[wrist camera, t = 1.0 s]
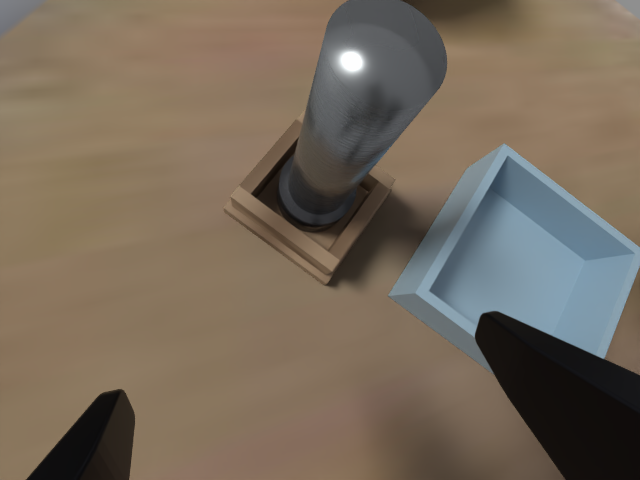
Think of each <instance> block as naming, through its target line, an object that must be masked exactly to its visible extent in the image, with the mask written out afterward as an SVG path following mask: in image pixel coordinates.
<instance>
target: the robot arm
mask: <svg viewBox="0 0 640 480" xmlns="http://www.w3.org/2000/svg"><path fill="white" fill-rule="evenodd" d="M475 341H476V343H477V345H478V347H479V349H480V350H481V352H482V354H483V356H484V357H485V359H486V361H487V363H488V364H489V366H490V368H491V370H492V371H493V373H494V375H495V377H496V378H497V380H498V382H499V384H500V385H501V387H502V389H503V390H504V392H505V393H506V395H507V397H508V398H509V400H510V401H511V403H512V404H513V405H514V407H515V408H516V410H517V411H518V413H519V414H520V415H521V417H522V418H523V420H524V421H525V423H526V424H527V425H528V427H529V428H530V430H531V431H532V432H533V434H534V435H535V437H536V438H537V440H538V441H539V442H540V444H541V445H542V447H543V448H544V450H545V451H546V452H547V454H548V455H549V457H550V458H551V460H552V461H553V462H554V464H555V465H556V467H557V468H558V470H559V471H560V472H561V474H562V475H563V477H564V478H565V480H640V375H638V374H636V373H634V372H632V371H629V370H627V369H625V368H623V367H621V366H618V365H616V364H614V363H612V362H609V361H607V360H605V359H603V358H601V357H598V356H596V355H594V354H592V353H590V352H587V351H585V350H583V349H581V348H578V347H576V346H574V345H572V344H570V343H567V342H565V341H563V340H561V339H559V338H556V337H554V336H552V335H550V334H547V333H545V332H543V331H541V330H539V329H536V328H534V327H532V326H530V325H528V324H525V323H523V322H521V321H519V320H516V319H514V318H512V317H510V316H508V315H505V314H503V313H501V312H499V311H490V312H485V313H482V314H481V316H480V318H479V321H478V325H477V328H476V332H475ZM134 427H135V414H134V411H133V408H132V406H131V404H130V402H129V400H128V397H127V395H126V393H125V392H124V390H122V389H117V390H113V391H108V392H104V393H102V394H100V395H99V396H98V397H97V398H96V399H95V400H94V401H93V403H92V404H91V405H90V406H89V407H88V408H87V410H86V411H85V412H84V413H83V414H82V415H81V417H80V418H79V419H78V420H77V421H76V422H75V423H74V425H73V426H72V427H71V428H70V429H69V430H68V432H67V433H66V434H65V435H64V436H63V437H62V439H61V440H60V441H59V442H58V443H57V444H56V446H55V447H54V448H53V449H52V450H51V451H50V452H49V454H48V455H47V456H46V457H45V458H44V459H43V461H42V462H41V463H40V464H39V465H38V466H37V468H36V469H35V470H34V471H33V472H32V473H31V474H30V476H29V477H28V478H27V479H26V480H129V476H130V467H131V457H132V447H133V437H134Z"/></svg>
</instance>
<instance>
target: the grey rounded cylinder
mask: <svg viewBox="0 0 640 480" xmlns="http://www.w3.org/2000/svg"><path fill="white" fill-rule="evenodd" d="M446 70H447V55H446V50H445V47H444V44H443V41H442V39H441V37H440V35H439V33H438V31H437V30H436V28H435V27H434V26H433V24H432V23H431V22H430V21H429V20H428V19H427V18H426V16H424V15H423V14H422V13H421V12H420V11H418V10H417V9H416V8H414V7H413V6H411V5H409V4H407V3H406V2H403V1H401V0H349V1H347V2H345V3H344V4H342V5H341V6H340V7H339V8H338V9H337V10H336V11H335V12H334V13H333V15H332V16H331V18H330V20H329V22H328V25H327V28H326V32H325V36H324V40H323V44H322V48H321V52H320V56H319V60H318V64H317V67H316V71H315V75H314V79H313V83H312V87H311V91H310V95H309V99H308V103H307V107H306V111H305V115H304V119H303V123H302V127H301V131H300V135H299V139H298V143H297V147H296V151H295V154H294V156H292V157H291V158H290V159H289V160H288V161H287V162H286V164H285V165H284V167H283V169H282V171H281V174H280V179H279V185H278V190H277V204H278V208H279V210H280V212H281V214H282V216H283V217H284V219H285V220H286V221H287V222H289V223H290V224H291V225H293V226H294V227H295V228H297V229H299V230H302V231H305V232H321V231H325V230H327V229H329V228H331V227H333V226H334V225H335V224H336V223H337V222H338V221H339V220H340V219H341V218H342V217H343V216H344V215H345V214H346V213H347V212H348V211H349V209H350V208H351V206H352V205H353V203H354V200H355V197H356V188H357V186H358V185H359V184H360V183H361V182H362V180H363V179H364V178H365V177H366V176H367V174H368V173H369V172H370V171H371V170H372V168H373V167H374V166H375V165H376V164H377V162H378V161H379V160H380V159H381V158H382V156H383V155H384V154H385V153H386V152H387V150H388V149H389V148H390V147H391V146H392V144H393V143H394V142H395V141H396V140H397V138H398V137H399V136H400V135H401V134H402V132H403V131H404V130H405V129H406V128H407V126H408V125H409V124H410V123H411V122H412V120H413V119H414V118H415V117H416V116H417V114H418V113H419V112H420V111H421V110H422V108H423V107H424V106H425V105H426V104H427V102H428V101H429V100H430V99H431V98H432V96H433V95H434V94H435V93H436V92H437V90H438V89H439V88H440V86H441V84H442V83H443V80H444V78H445V74H446Z"/></svg>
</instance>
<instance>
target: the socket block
mask: <svg viewBox="0 0 640 480" xmlns="http://www.w3.org/2000/svg"><path fill="white" fill-rule="evenodd" d="M304 115H305V111H303V112H302V113H301V114H300V115H299V117H298V118H297V119H296V120H295V121H294V122H293V124H292V125H291V126H290V127H289V128H288V129H287V131H286V132H285V133H284V134H283V135H282V136H281V138H280V139H279V140H278V141H277V142H276V143H275V145H274V146H273V147H272V148H271V149H270V150H269V151H268V153H267V154H266V155H265V156H264V157H263V158H262V160H261V161H260V162H259V163H258V164H257V165H256V167H255V168H254V169H253V170H252V171H251V172H250V174H249V175H248V176H247V177H246V178H245V179H244V181H243V182H242V183H241V184H240V185H239V186H238V187H237V189H236V190H235V191H234V192H233V193H232V194H231V196H230V198H231V199H230V200H229V201H228V202H227V204H226V205H225V206H224V207H223V209H224V212H225V213H226V214H228V215H229V216H230V217H232V218H233V219H235V220H236V221H237V222H239V223H240V224H241V225H243V226H244V227H245V228H247V229H248V230H249V231H251V232H252V233H254V234H255V235H256V236H258V237H259V238H260V239H262V240H263V241H264V242H266V243H267V244H268V245H270V246H271V247H273V248H274V249H275V250H277V251H278V252H279V253H281V254H282V255H283V256H285V257H286V258H287V259H289V260H290V261H292V262H293V263H294V264H296V265H297V266H298V267H300V268H301V269H302V270H304V271H305V272H307V273H308V274H309V275H311V276H312V277H313V278H315V279H316V280H317V281H319V282H320V283H321V284H323V285H325V284H327V283H328V282H329V280H330V279H331V277H332V276H333V274H334V273H335V271H336V270H337V268H338V267H339V266H340V264H341V263H342V261H343V260H344V258H345V257H346V255H347V254H348V252H349V251H350V250H351V248H352V247H353V245H354V244H355V242H356V241H357V239H358V238H359V236H360V235H361V234H362V232H363V231H364V229H365V228H366V226H367V225H368V223H369V222H370V221H371V219H372V218H373V216H374V215H375V213H376V212H377V210H378V209H379V207H380V206H381V205H382V203H383V202H384V200H385V199H386V197H387V196H388V194H389V193H390V191H391V189H390V187H391V186H392V185H393V183H394V182H395V180H396V179H394V178H393V177H392V176H390V175H389V174H388V173H386V172H385V171H384V170H382V169H381V168H380V167H378V166H377V165H375V166H374V167H373V168H372V170H371V171H370V172H369V173H368V174H367V176H366V177H365V178H364V179H363V180H362V182H361V183H360V184H359V185H358V186H357V188H356V197H355V200H354V203H353V205H352V206H351V208H350V209H349V211H348V212H347V213H346V214H345V215H344V216H343V217H342V218H341V219H340V220H339V221H338V222H337V223H336V224H335V225H334V226H333V227H331V228H329V229H327V230H325V231H321V232H305V231H302V230H299V229H297V228H295V227H294V226H293V225H291V224H290V223H289V222H287V221H286V220H285V219H284V217H283V216H282V214H281V212H280V210H279V208H278V204H277V190H278V185H279V179H280V174H281V171H282V169H283V167H284V165H285V164H286V162H287V161H288V160H289V159H290V158H291V157H292V156H294V154H295V151H296V147H297V143H298V139H299V135H300V131H301V127H302V123H303V119H304Z"/></svg>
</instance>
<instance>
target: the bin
mask: <svg viewBox="0 0 640 480" xmlns="http://www.w3.org/2000/svg"><path fill="white" fill-rule="evenodd" d="M639 266H640V247H638V246H637V245H636V244H634V243H633V242H632V241H631V240H629V239H628V238H627V237H625V236H624V235H623V234H621V233H620V232H619V231H618V230H616V229H615V228H614V227H612V226H611V225H610V224H608V223H607V222H606V221H605V220H603V219H602V218H601V217H599V216H598V215H597V214H595V213H594V212H593V211H592V210H590V209H589V208H588V207H586V206H585V205H584V204H582V203H581V202H580V201H579V200H577V199H576V198H575V197H573V196H572V195H571V194H569V193H568V192H567V191H566V190H564V189H563V188H562V187H560V186H559V185H558V184H556V183H555V182H554V181H553V180H551V179H550V178H549V177H547V176H546V175H545V174H543V173H542V172H541V171H540V170H538V169H537V168H536V167H534V166H533V165H532V164H531V163H529V162H528V161H527V160H525V159H524V158H523V157H521V156H520V155H519V154H518V153H516V152H515V151H514V150H512V149H511V148H510V147H508V146H507V145H506V144H505V143H504V144H502V145H501V146H499V147H498V148H496V149H495V150H493V151H492V152H490V153H489V154H487V155H486V156H484V157H483V158H481V159H480V160H478V161H477V162H475V163H474V164H473V165H471V166H470V167H468V168H467V169H466V171H465V172H464V174H463V176H462V177H461V179H460V180H459V182H458V184H457V185H456V187H455V188H454V190H453V192H452V193H451V195H450V196H449V198H448V200H447V201H446V203H445V205H444V206H443V208H442V209H441V211H440V213H439V214H438V216H437V217H436V219H435V221H434V222H433V224H432V226H431V227H430V229H429V230H428V232H427V234H426V235H425V237H424V238H423V240H422V242H421V243H420V245H419V247H418V248H417V250H416V251H415V253H414V255H413V256H412V258H411V259H410V261H409V263H408V264H407V266H406V267H405V269H404V271H403V272H402V274H401V276H400V277H399V279H398V280H397V282H396V284H395V285H394V287H393V288H392V290H391V292H390V293H389V295H388V296H389V297H390V298H391V299H393V300H394V301H395V302H397V303H398V304H399V305H401V306H402V307H403V308H405V309H406V310H407V311H409V312H410V313H412V314H413V315H414V316H416V317H417V318H418V319H420V320H421V321H422V322H424V323H425V324H426V325H428V326H429V327H430V328H432V329H433V330H434V331H436V332H437V333H439V334H440V335H441V336H443V337H444V338H445V339H447V340H448V341H449V342H451V343H452V344H453V345H455V346H456V347H457V348H459V349H460V350H462V351H463V352H464V353H466V354H467V355H468V356H470V357H471V358H472V359H474V360H475V361H476V362H478V363H479V364H480V365H482V366H483V367H484V368H486V369H487V370H489V371H490V372H491V373H493V371H492V370H491V368H490V366H489V364H488V363H487V361H486V359H485V357H484V356H483V354H482V352H481V350H480V349H479V347H478V345H477V343H476V341H475V332H476V328H477V325H478V321H479V318H480V316H481V314H482V313H485V312H490V311H499V312H501V313H503V314H505V315H508V316H510V317H512V318H514V319H516V320H519V321H521V322H523V323H525V324H528V325H530V326H532V327H534V328H536V329H539V330H541V331H543V332H545V333H547V334H550V335H552V336H554V337H556V338H559V339H561V340H563V341H565V342H567V343H570V344H572V345H574V346H576V347H578V348H581V349H583V350H585V351H587V352H590V353H592V354H594V355H596V356H598V357H601V358H603V359H604V358H605V355H606V353H607V350H608V347H609V345H610V342H611V340H612V337H613V334H614V332H615V329H616V326H617V324H618V321H619V319H620V316H621V313H622V311H623V308H624V306H625V303H626V300H627V298H628V295H629V292H630V290H631V287H632V285H633V282H634V279H635V277H636V274H637V271H638V269H639ZM493 374H494V373H493Z"/></svg>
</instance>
